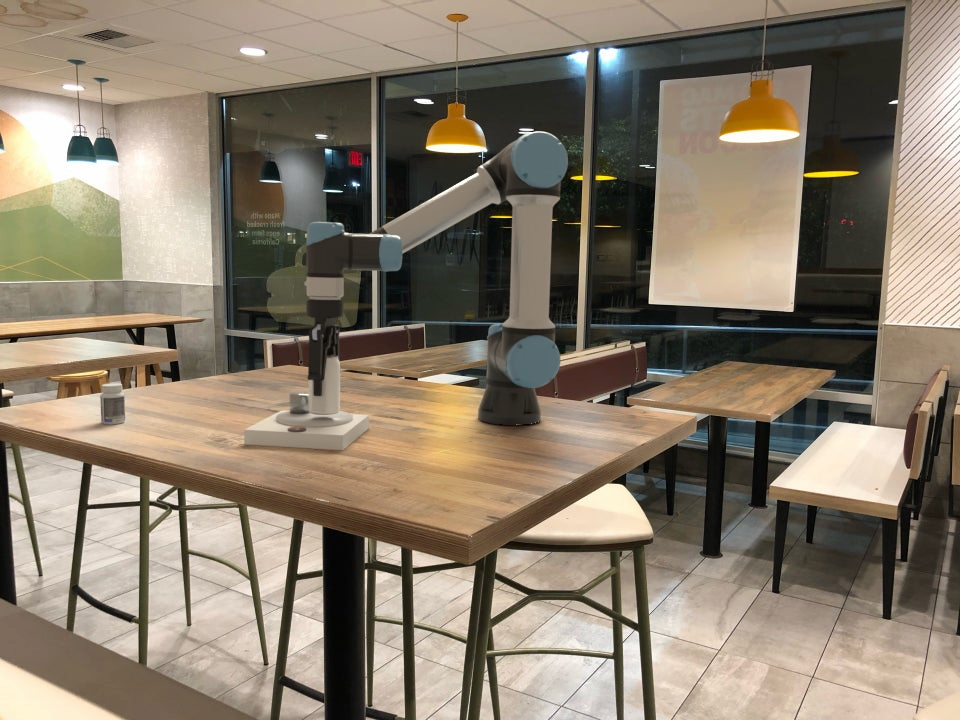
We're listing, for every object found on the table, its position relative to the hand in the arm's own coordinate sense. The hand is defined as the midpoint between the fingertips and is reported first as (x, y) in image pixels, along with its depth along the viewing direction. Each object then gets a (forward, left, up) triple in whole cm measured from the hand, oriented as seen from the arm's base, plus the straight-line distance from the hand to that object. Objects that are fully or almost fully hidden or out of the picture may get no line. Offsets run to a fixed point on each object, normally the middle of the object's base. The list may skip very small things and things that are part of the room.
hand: (324, 407), depth 157 cm
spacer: (+7, -5, -2) cm, 9 cm away
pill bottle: (+48, 0, -6) cm, 48 cm away
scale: (+3, +1, -6) cm, 6 cm away
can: (0, 0, -1) cm, 1 cm away
